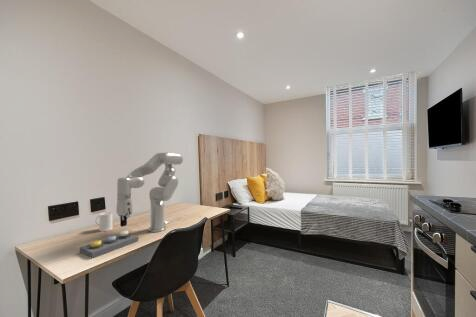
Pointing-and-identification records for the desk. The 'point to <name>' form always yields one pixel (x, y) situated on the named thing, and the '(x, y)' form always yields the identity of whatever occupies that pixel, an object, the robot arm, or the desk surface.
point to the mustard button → (96, 243)
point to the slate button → (110, 238)
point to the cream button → (124, 233)
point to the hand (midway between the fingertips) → (123, 225)
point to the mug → (105, 221)
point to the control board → (108, 246)
